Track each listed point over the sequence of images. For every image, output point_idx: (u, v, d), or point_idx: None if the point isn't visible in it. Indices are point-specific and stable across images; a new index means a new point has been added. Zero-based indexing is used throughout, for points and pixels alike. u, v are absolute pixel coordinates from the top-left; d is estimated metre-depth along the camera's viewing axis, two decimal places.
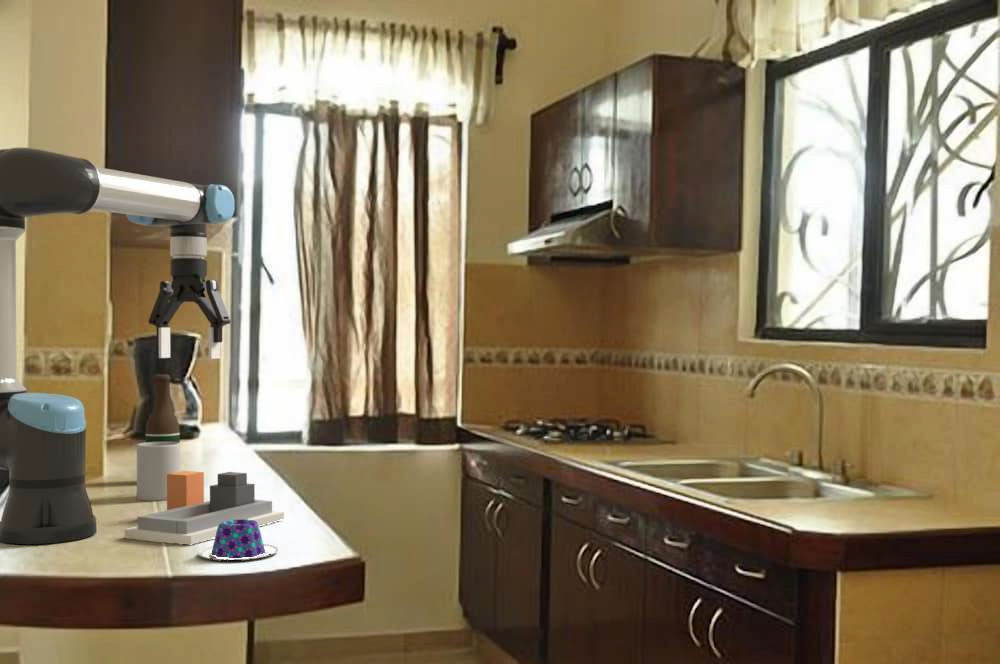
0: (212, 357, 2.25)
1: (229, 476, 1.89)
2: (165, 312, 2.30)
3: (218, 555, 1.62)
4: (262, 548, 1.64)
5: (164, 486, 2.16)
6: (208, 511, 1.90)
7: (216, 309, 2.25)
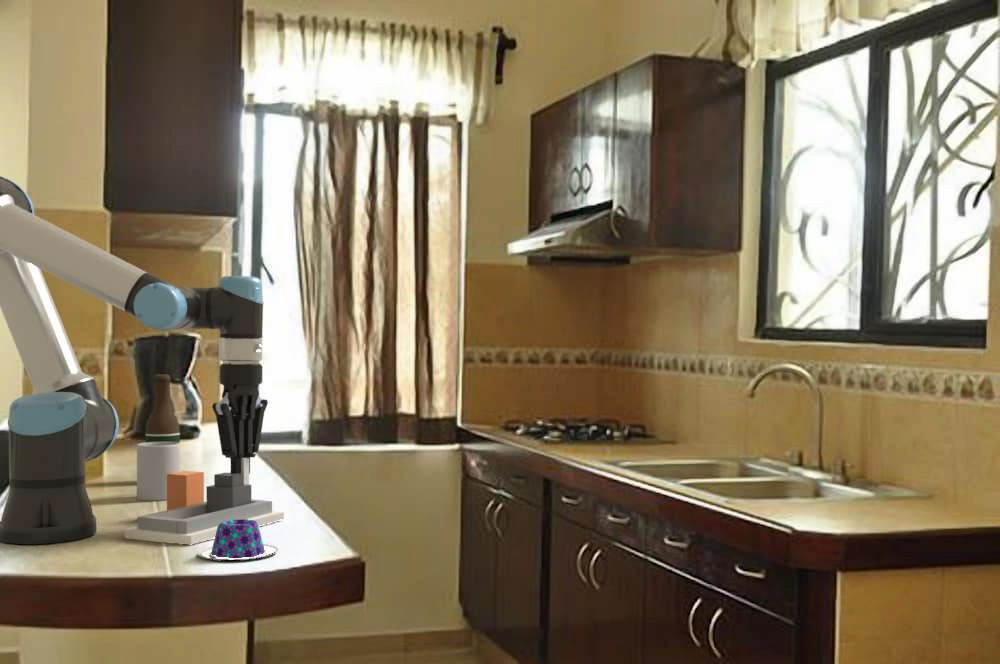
0: None
1: (226, 477, 1.89)
2: None
3: (218, 555, 1.62)
4: (262, 548, 1.64)
5: (164, 486, 2.16)
6: None
7: None
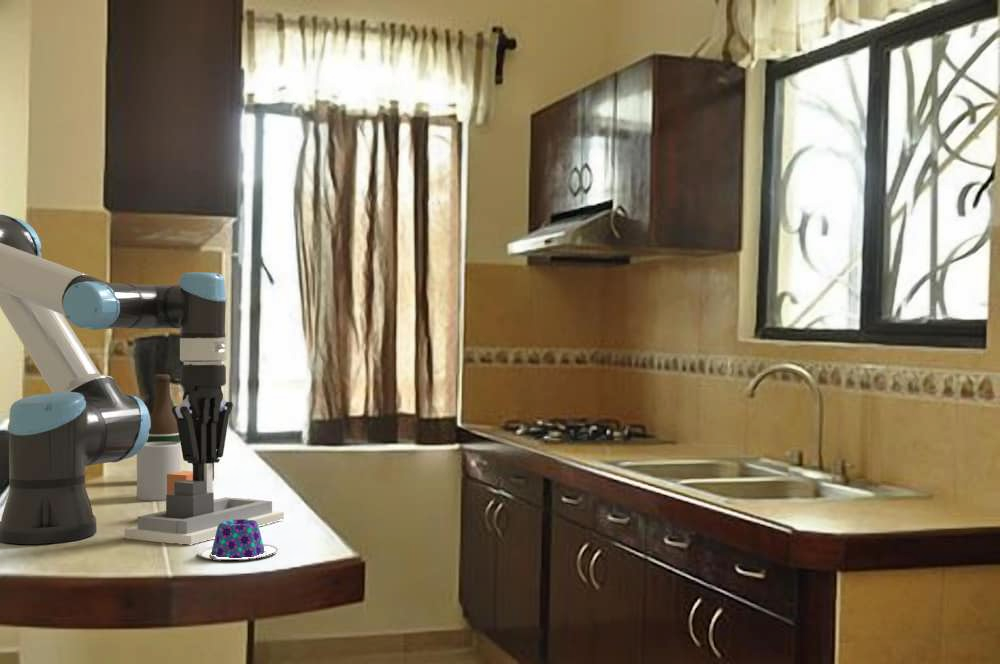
0: None
1: (186, 484, 1.80)
2: None
3: (218, 555, 1.62)
4: (262, 548, 1.64)
5: (164, 486, 2.16)
6: None
7: None
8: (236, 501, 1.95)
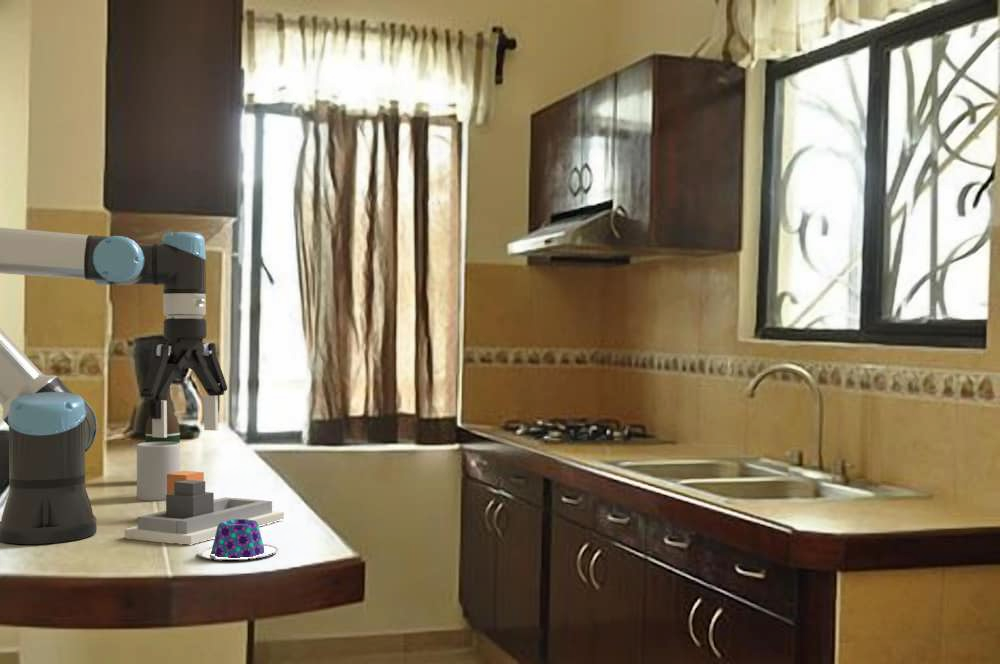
0: (153, 435, 1.92)
1: (186, 484, 1.80)
2: None
3: (216, 555, 1.62)
4: (261, 548, 1.64)
5: (164, 486, 2.16)
6: None
7: None
8: (236, 501, 1.95)
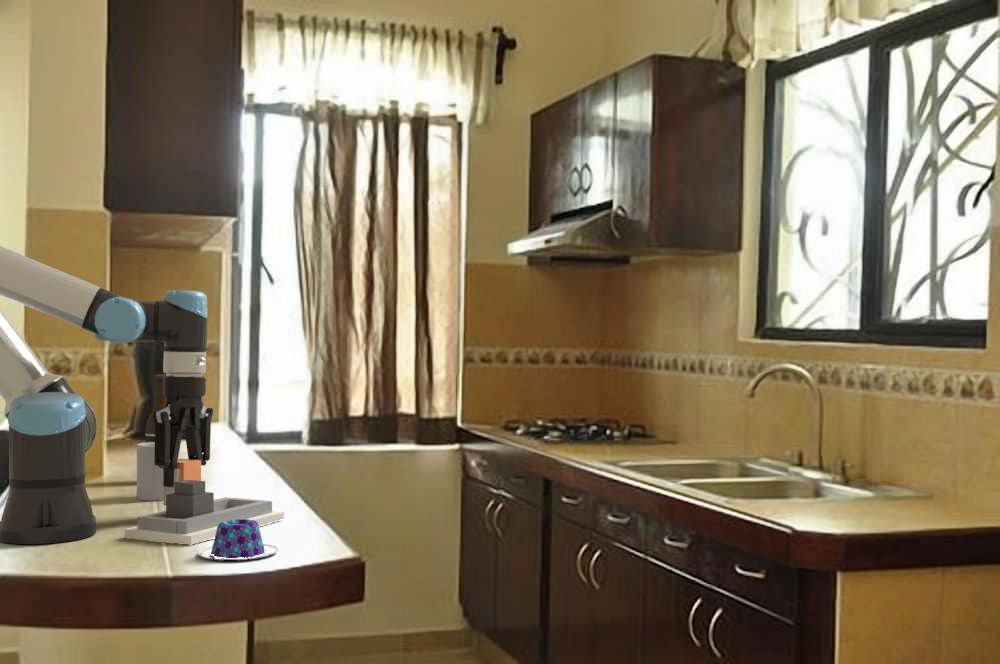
0: (165, 503, 1.95)
1: (186, 484, 1.80)
2: None
3: (215, 554, 1.62)
4: (260, 549, 1.64)
5: None
6: None
7: None
8: (236, 501, 1.95)
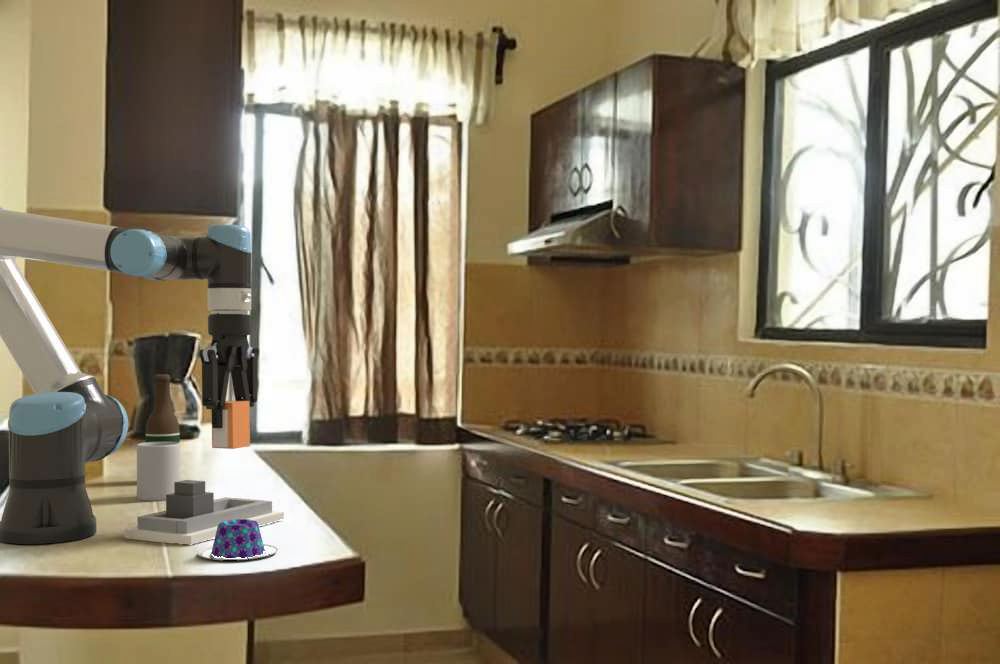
0: (214, 445, 1.88)
1: (186, 484, 1.80)
2: None
3: (214, 554, 1.62)
4: (259, 549, 1.64)
5: (164, 486, 2.16)
6: None
7: None
8: (236, 501, 1.95)
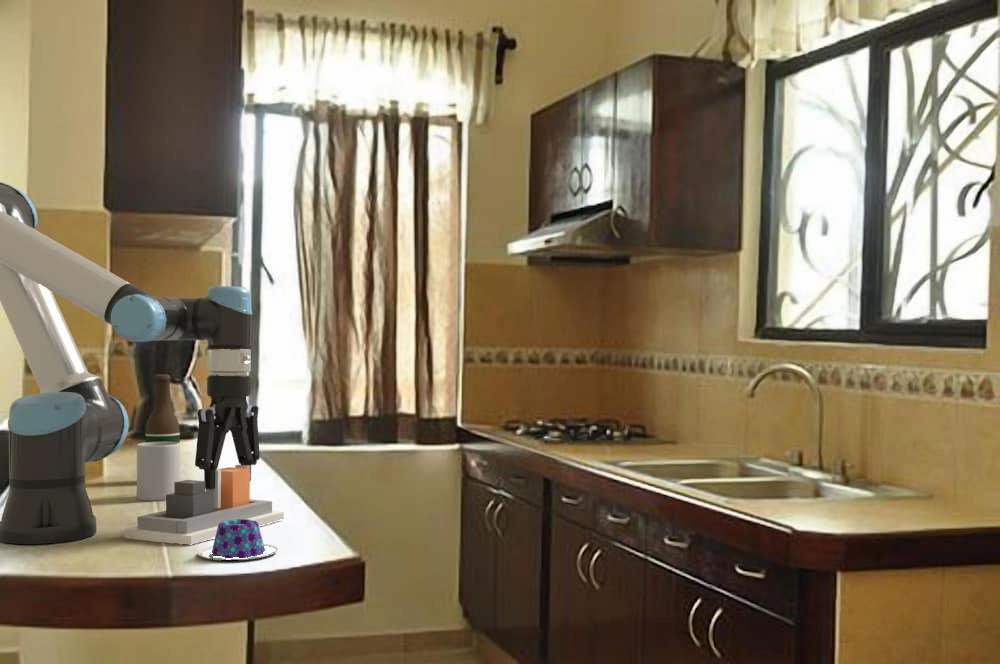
0: None
1: (186, 484, 1.80)
2: None
3: (213, 554, 1.62)
4: (258, 549, 1.63)
5: (164, 486, 2.16)
6: None
7: None
8: None
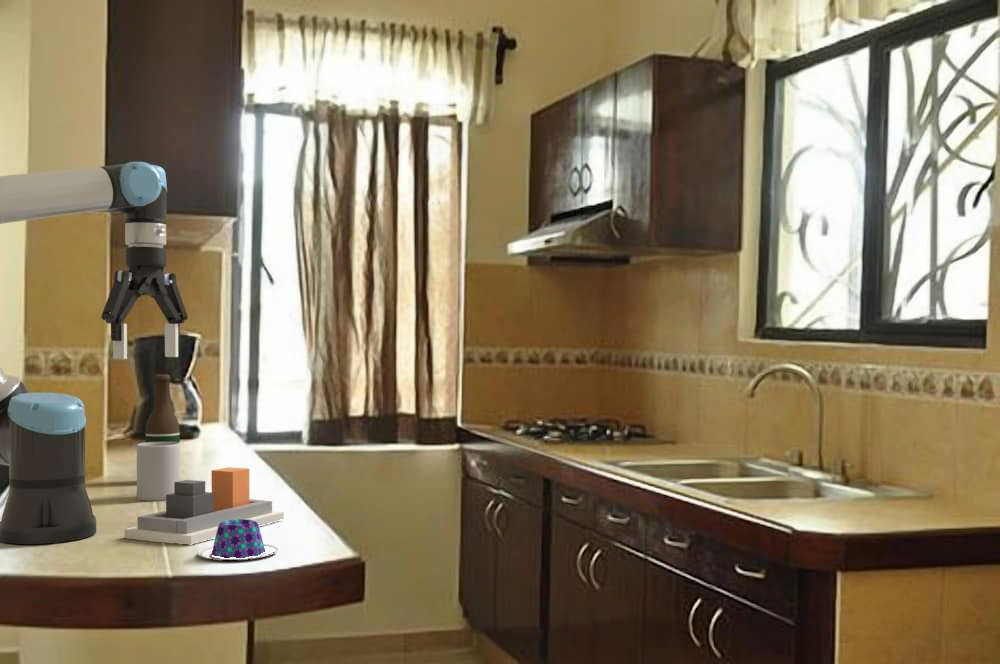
0: (114, 357, 2.01)
1: (186, 484, 1.80)
2: None
3: (212, 553, 1.63)
4: (256, 550, 1.63)
5: (164, 486, 2.16)
6: None
7: None
8: None
